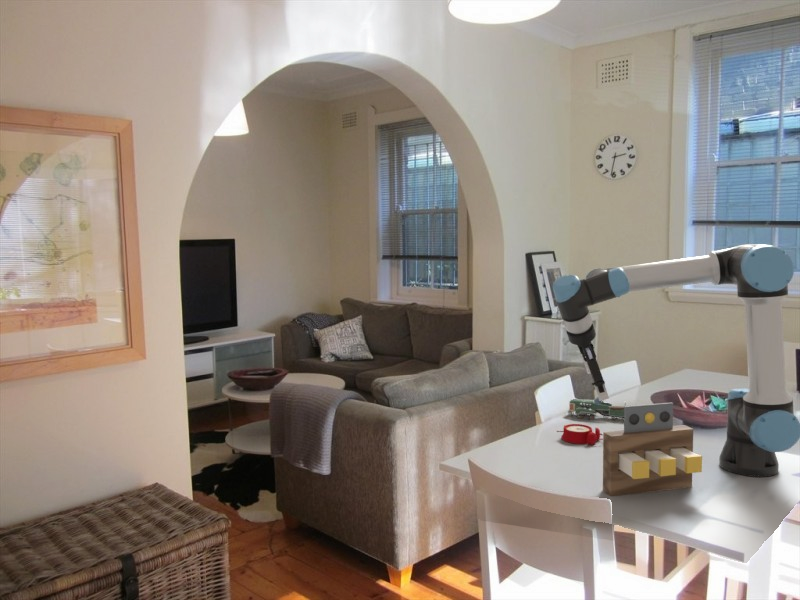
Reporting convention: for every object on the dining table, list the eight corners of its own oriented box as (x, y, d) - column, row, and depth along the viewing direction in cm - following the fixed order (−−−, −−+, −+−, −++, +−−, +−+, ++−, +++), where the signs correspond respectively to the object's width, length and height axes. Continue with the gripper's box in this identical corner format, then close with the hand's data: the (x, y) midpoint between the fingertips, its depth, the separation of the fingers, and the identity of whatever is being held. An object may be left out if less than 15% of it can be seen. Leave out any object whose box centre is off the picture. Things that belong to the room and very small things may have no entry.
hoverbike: (570, 411, 255) (571, 390, 255) (639, 418, 244) (639, 396, 244) (565, 418, 247) (565, 396, 246) (636, 425, 236) (636, 402, 235)
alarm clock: (564, 422, 229) (607, 418, 220) (568, 440, 229) (611, 437, 220) (553, 430, 220) (597, 426, 212) (557, 448, 220) (602, 446, 212)
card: (673, 429, 177) (673, 403, 176) (625, 433, 174) (626, 407, 173) (671, 428, 178) (671, 402, 177) (623, 432, 175) (624, 406, 174)
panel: (692, 487, 178) (693, 428, 177) (610, 496, 173) (611, 436, 172) (682, 481, 182) (683, 424, 181) (602, 490, 177) (603, 432, 176)
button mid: (675, 474, 169) (675, 458, 168) (660, 476, 168) (661, 460, 167) (655, 463, 178) (655, 447, 177) (640, 464, 177) (641, 449, 176)
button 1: (649, 477, 167) (649, 461, 167) (634, 479, 166) (634, 462, 166) (629, 465, 176) (629, 450, 176) (615, 467, 175) (615, 451, 175)
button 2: (701, 472, 170) (702, 456, 170) (687, 473, 169) (687, 457, 169) (679, 460, 179) (680, 445, 179) (666, 461, 178) (666, 446, 178)
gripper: (557, 310, 198) (575, 365, 207) (576, 354, 175) (596, 415, 184) (581, 301, 196) (599, 358, 205) (604, 345, 174) (622, 407, 183)
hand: (597, 385), depth 195 cm, fingers open, 13 cm apart
